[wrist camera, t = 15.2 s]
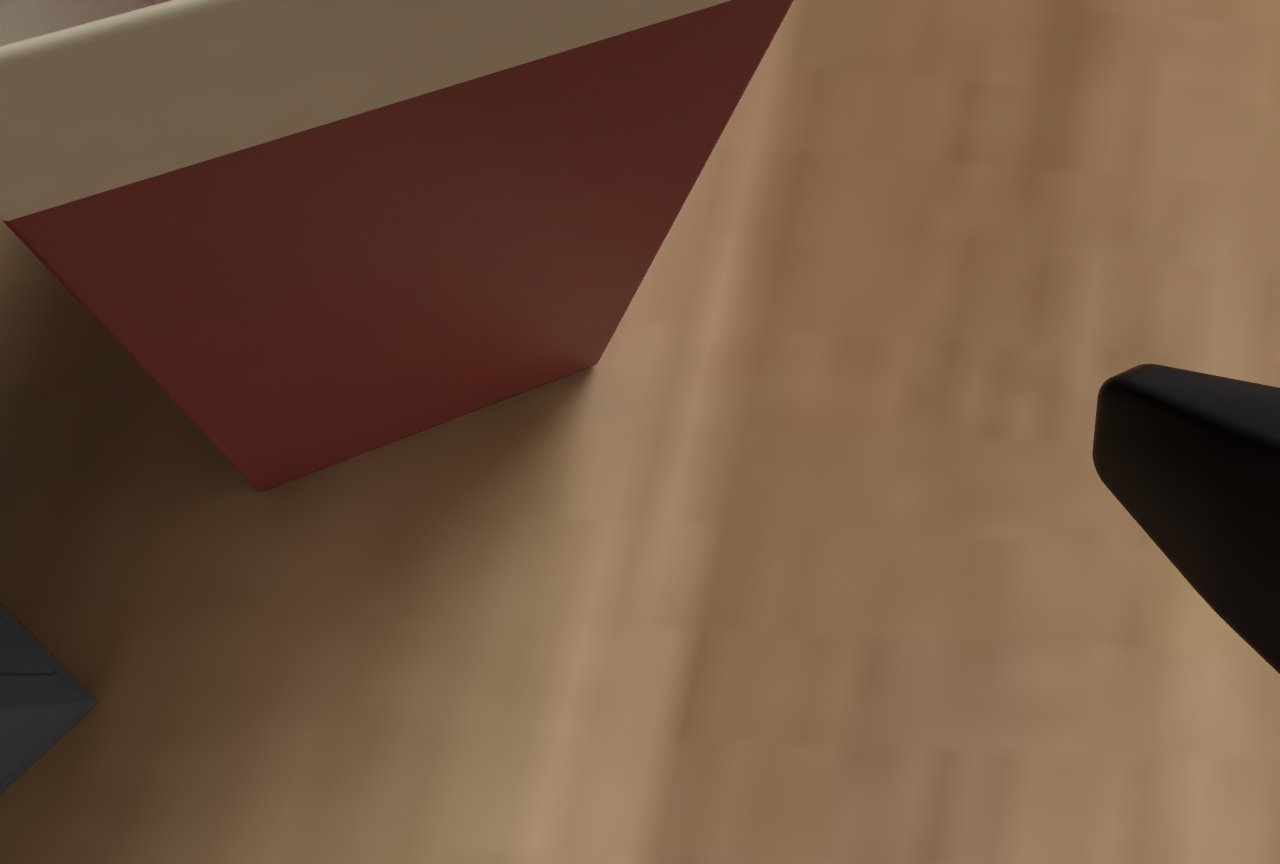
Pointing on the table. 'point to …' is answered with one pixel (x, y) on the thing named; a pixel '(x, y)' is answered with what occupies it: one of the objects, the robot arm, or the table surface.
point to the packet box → (32, 699)
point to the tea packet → (359, 193)
